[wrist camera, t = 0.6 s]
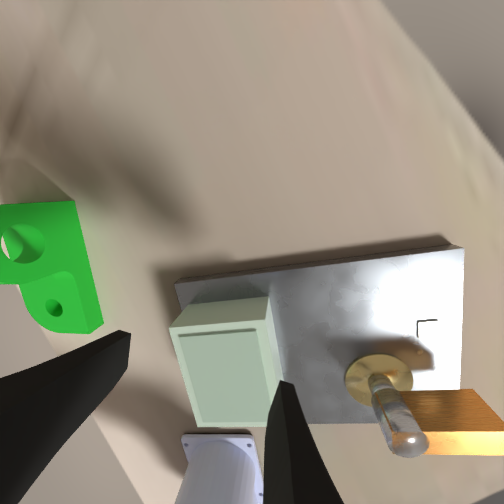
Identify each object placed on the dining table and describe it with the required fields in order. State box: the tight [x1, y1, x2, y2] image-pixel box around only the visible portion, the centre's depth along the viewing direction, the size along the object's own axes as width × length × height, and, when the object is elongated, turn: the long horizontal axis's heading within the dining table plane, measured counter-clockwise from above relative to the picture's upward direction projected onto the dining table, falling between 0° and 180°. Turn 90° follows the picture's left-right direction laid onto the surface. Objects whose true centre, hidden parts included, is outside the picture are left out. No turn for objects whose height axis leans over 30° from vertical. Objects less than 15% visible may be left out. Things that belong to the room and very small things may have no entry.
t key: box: [368, 375, 504, 458], centre depth 16 cm, size 2×7×5 cm, turn 100°
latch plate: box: [174, 244, 464, 424], centre depth 20 cm, size 15×22×1 cm
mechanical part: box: [0, 201, 104, 334], centre depth 19 cm, size 12×6×8 cm, turn 3°
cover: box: [169, 296, 284, 427], centre depth 19 cm, size 9×7×4 cm
